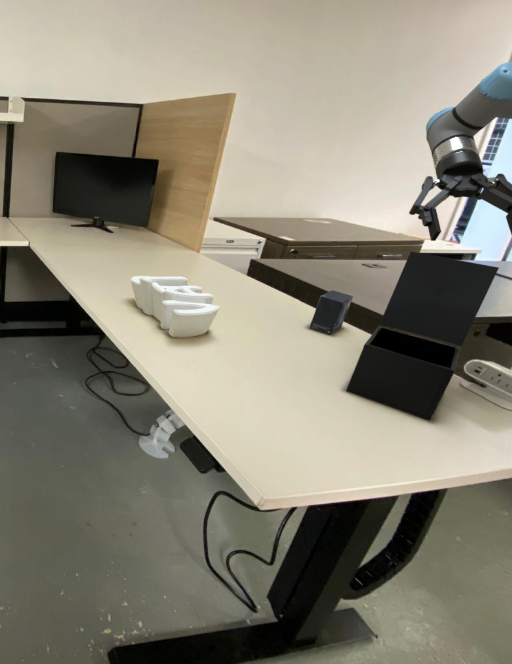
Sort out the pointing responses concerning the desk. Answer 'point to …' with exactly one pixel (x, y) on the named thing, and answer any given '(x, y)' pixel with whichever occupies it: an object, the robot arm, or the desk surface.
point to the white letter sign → (175, 304)
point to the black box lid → (438, 297)
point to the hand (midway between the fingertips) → (477, 236)
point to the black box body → (404, 371)
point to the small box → (330, 312)
